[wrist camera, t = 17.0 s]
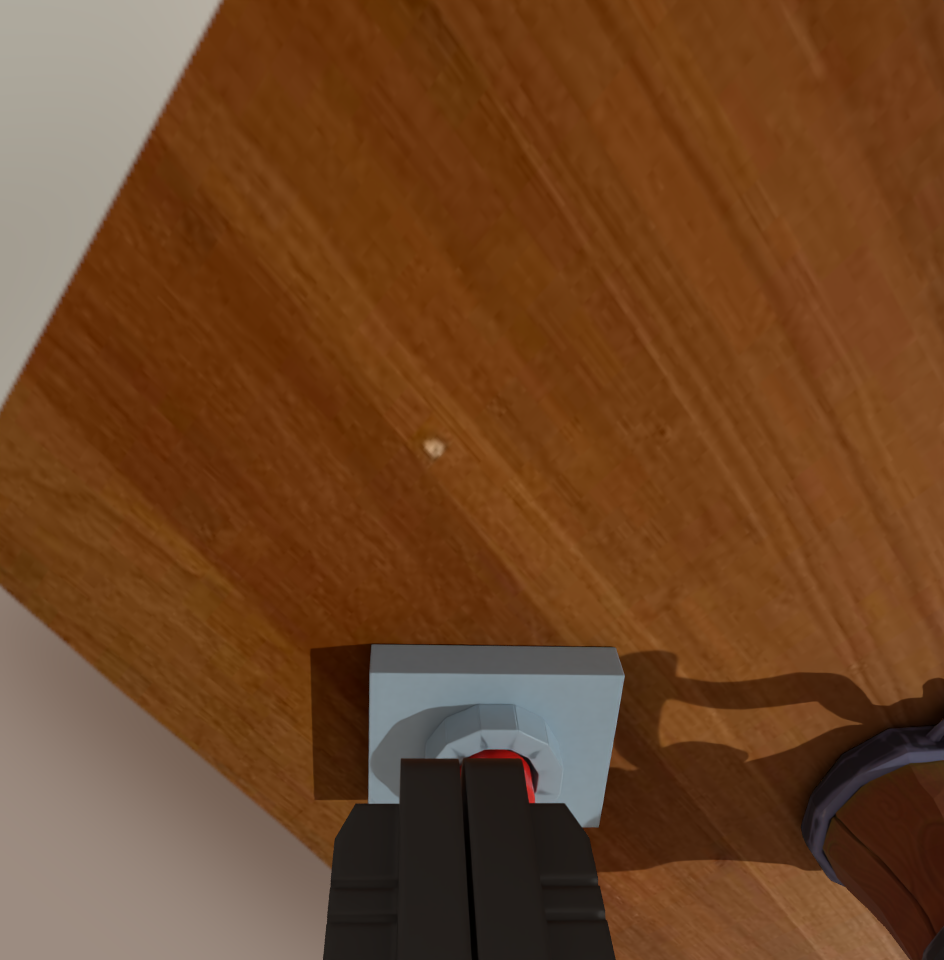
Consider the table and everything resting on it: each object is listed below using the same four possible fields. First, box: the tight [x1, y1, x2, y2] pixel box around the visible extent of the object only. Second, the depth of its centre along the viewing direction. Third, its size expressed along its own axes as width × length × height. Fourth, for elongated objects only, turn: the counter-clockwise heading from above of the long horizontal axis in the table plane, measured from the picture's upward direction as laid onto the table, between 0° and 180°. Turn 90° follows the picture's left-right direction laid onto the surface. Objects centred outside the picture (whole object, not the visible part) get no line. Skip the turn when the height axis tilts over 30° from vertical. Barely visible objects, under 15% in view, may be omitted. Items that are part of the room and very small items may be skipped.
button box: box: [368, 644, 625, 827], centre depth 44 cm, size 12×10×4 cm
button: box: [460, 749, 535, 803], centre depth 42 cm, size 4×4×2 cm
